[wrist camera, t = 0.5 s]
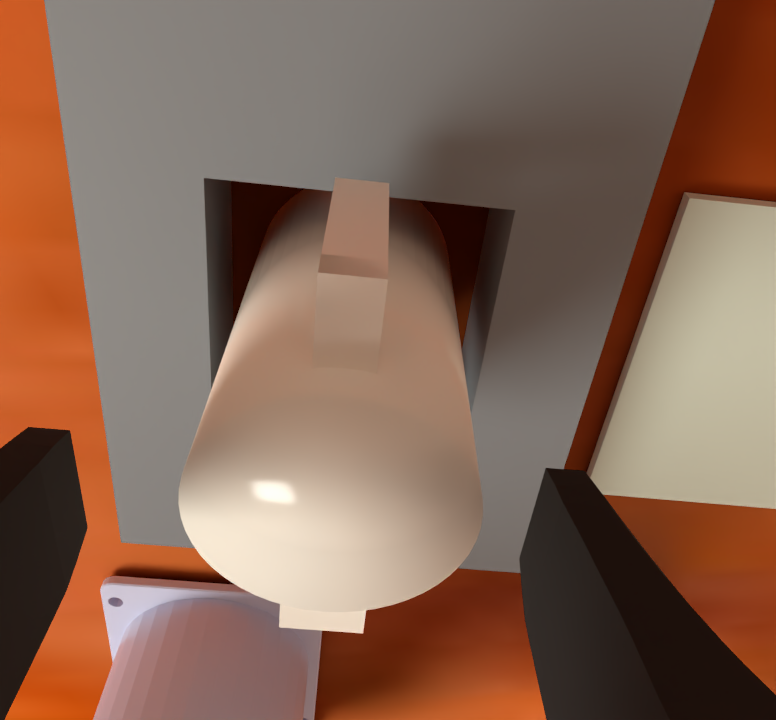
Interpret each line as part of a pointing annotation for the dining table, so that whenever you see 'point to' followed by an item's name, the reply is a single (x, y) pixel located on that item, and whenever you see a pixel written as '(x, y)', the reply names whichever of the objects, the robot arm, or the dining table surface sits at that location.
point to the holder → (369, 163)
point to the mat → (701, 366)
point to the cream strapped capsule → (339, 416)
